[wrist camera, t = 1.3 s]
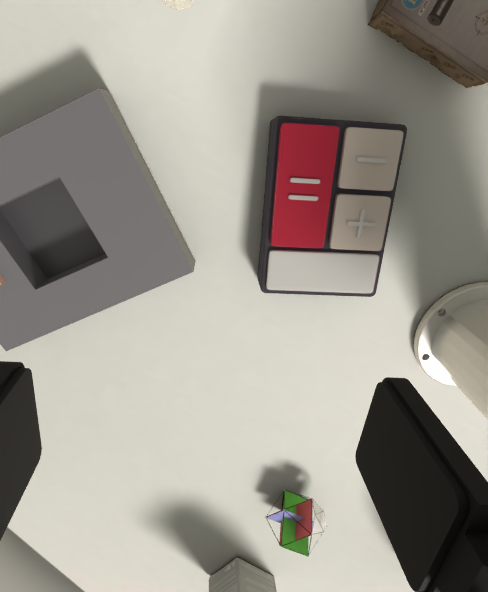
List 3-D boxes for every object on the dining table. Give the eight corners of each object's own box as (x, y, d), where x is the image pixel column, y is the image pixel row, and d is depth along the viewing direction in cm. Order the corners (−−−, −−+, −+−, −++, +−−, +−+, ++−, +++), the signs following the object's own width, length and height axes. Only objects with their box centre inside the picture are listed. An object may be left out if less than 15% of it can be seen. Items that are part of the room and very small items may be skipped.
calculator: (413, 124, 31) (378, 300, 36) (390, 127, 35) (362, 285, 40) (276, 114, 30) (261, 296, 35) (269, 118, 34) (256, 281, 39)
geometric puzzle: (292, 545, 53) (324, 575, 46) (251, 530, 51) (277, 558, 44) (309, 492, 55) (343, 512, 48) (270, 476, 53) (299, 494, 46)
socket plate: (109, 91, 32) (96, 87, 28) (195, 261, 38) (192, 274, 34) (-92, 190, 34) (-126, 197, 30) (20, 335, 40) (3, 354, 37)
